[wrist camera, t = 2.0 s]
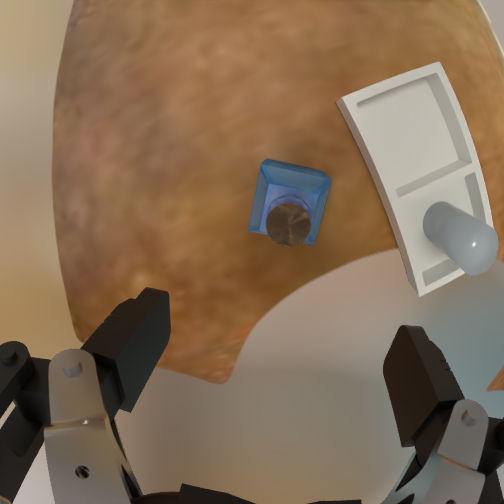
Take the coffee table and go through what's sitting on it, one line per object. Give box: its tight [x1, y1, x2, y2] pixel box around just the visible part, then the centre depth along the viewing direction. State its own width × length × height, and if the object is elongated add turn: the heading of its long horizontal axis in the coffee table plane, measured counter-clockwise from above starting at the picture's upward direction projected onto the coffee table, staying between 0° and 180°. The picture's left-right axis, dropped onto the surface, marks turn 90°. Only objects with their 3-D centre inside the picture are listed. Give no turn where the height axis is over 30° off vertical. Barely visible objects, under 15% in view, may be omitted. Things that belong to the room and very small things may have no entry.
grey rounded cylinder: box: [423, 201, 499, 276], centre depth 25 cm, size 5×5×9 cm
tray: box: [336, 62, 494, 296], centre depth 27 cm, size 23×12×4 cm, turn 29°
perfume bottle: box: [248, 159, 331, 247], centre depth 26 cm, size 6×6×12 cm
